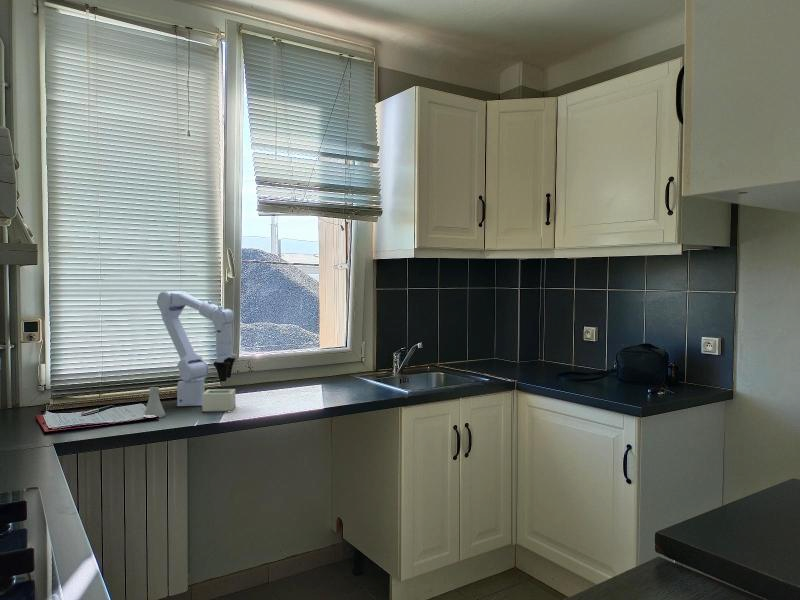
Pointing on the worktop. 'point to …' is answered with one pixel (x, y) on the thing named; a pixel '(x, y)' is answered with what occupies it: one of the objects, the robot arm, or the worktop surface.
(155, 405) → the flask
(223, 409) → the box
